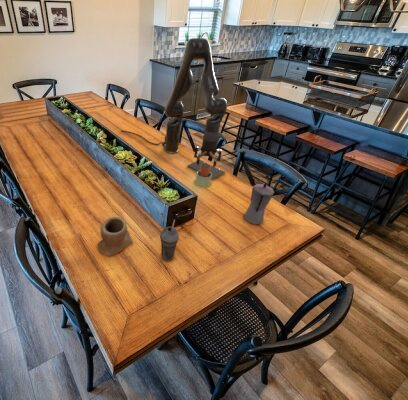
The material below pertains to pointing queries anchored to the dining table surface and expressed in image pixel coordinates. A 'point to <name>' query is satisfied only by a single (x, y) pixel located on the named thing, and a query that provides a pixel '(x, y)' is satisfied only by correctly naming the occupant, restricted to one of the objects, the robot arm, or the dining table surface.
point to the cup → (203, 179)
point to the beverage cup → (169, 242)
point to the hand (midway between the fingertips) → (205, 165)
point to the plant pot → (205, 170)
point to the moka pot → (258, 203)
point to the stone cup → (114, 236)
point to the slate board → (213, 170)
